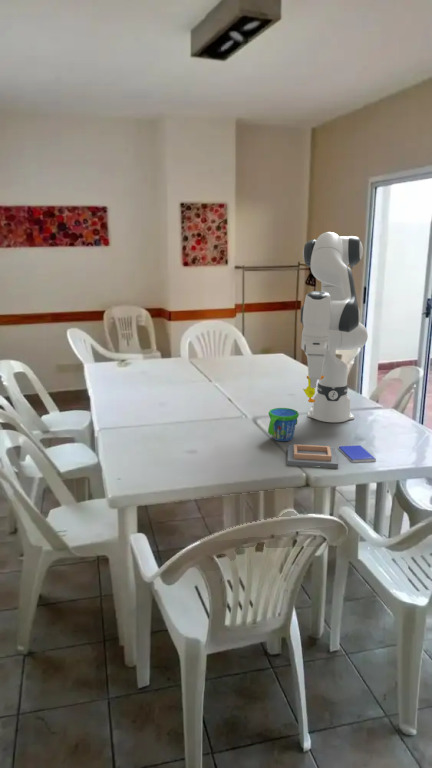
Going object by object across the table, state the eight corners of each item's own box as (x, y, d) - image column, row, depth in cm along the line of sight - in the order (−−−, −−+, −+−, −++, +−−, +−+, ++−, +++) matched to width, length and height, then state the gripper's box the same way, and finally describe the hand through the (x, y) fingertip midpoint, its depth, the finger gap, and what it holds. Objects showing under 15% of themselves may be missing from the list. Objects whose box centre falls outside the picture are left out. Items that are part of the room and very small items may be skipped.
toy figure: (320, 399, 185) (323, 364, 182) (323, 403, 181) (326, 366, 178) (300, 400, 184) (302, 364, 181) (303, 403, 181) (305, 366, 178)
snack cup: (279, 447, 197) (280, 419, 195) (257, 439, 205) (258, 412, 202) (307, 437, 207) (308, 410, 205) (285, 430, 215) (286, 404, 212)
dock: (287, 449, 195) (288, 441, 194) (334, 452, 193) (335, 444, 192) (287, 465, 182) (287, 456, 181) (337, 468, 180) (338, 459, 179)
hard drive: (376, 458, 186) (360, 445, 198) (352, 459, 184) (338, 446, 196) (375, 462, 186) (360, 449, 198) (352, 463, 185) (338, 450, 197)
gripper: (304, 337, 188) (302, 377, 192) (305, 349, 169) (303, 394, 172) (324, 338, 187) (321, 378, 191) (327, 350, 168) (324, 395, 171)
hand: (313, 386), depth 181 cm, fingers closed on toy figure, 2 cm apart
